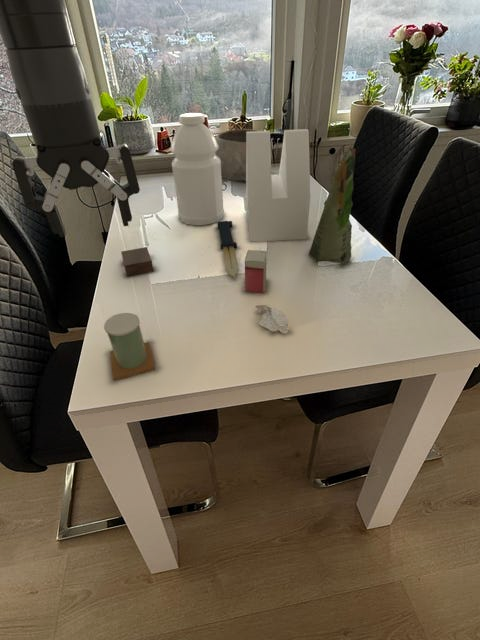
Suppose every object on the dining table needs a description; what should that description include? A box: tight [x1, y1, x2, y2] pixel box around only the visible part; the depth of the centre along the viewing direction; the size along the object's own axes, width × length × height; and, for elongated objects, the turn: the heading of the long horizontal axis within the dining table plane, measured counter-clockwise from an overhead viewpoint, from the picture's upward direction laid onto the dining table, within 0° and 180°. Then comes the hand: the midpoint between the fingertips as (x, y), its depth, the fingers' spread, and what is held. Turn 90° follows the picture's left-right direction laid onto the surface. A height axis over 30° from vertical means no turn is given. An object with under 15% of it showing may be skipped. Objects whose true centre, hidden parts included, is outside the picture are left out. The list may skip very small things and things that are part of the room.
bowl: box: [215, 128, 274, 182], centre depth 141 cm, size 23×23×15 cm
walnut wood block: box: [120, 246, 155, 277], centre depth 91 cm, size 6×8×3 cm
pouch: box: [308, 146, 357, 266], centre depth 85 cm, size 11×12×25 cm
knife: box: [216, 220, 239, 279], centre depth 97 cm, size 4×2×30 cm
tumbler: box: [103, 312, 147, 369], centre depth 63 cm, size 6×6×8 cm
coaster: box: [109, 341, 156, 381], centre depth 66 cm, size 7×7×1 cm
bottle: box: [170, 112, 225, 226], centre depth 107 cm, size 14×14×28 cm
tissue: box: [254, 304, 289, 334], centre depth 72 cm, size 6×8×4 cm
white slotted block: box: [245, 128, 311, 242], centre depth 101 cm, size 19×15×25 cm
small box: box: [244, 249, 268, 294], centre depth 81 cm, size 5×4×8 cm
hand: (94, 229), depth 53 cm, fingers open, 8 cm apart
